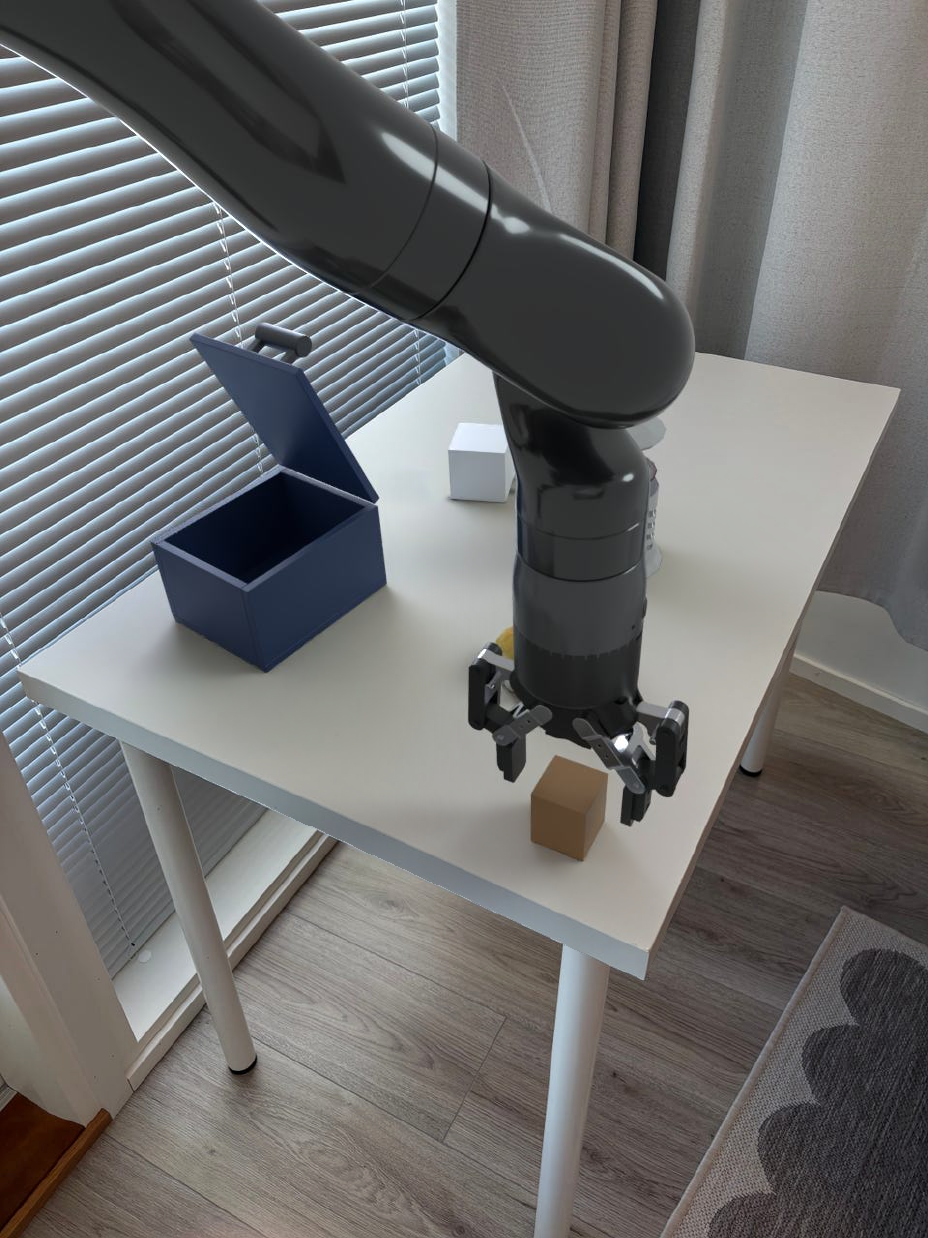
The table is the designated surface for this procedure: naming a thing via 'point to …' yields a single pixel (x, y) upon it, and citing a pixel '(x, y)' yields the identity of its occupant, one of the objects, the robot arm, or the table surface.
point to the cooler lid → (285, 407)
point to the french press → (646, 439)
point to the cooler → (272, 565)
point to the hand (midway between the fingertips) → (571, 794)
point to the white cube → (480, 463)
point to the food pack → (568, 807)
